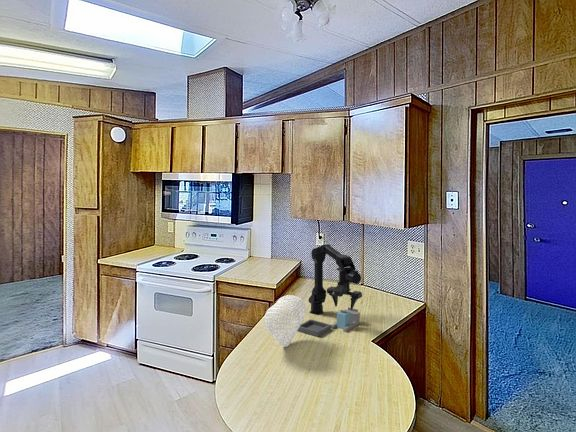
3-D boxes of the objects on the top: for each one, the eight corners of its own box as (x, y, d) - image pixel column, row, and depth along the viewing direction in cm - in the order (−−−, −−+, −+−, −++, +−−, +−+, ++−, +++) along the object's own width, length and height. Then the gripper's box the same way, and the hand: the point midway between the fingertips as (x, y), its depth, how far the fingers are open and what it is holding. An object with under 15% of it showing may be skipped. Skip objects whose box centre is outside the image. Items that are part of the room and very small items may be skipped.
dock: (330, 328, 185) (330, 315, 185) (345, 319, 200) (346, 306, 199) (345, 332, 180) (346, 318, 180) (360, 322, 194) (360, 310, 194)
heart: (278, 333, 178) (279, 290, 177) (308, 336, 173) (308, 293, 172) (259, 357, 151) (260, 307, 150) (293, 362, 147) (294, 310, 145)
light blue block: (336, 327, 187) (336, 311, 186) (341, 324, 191) (342, 308, 191) (344, 329, 184) (345, 313, 183) (349, 326, 188) (350, 310, 188)
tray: (296, 331, 181) (297, 326, 181) (310, 323, 191) (310, 319, 191) (318, 337, 173) (318, 332, 173) (330, 329, 184) (330, 324, 183)
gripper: (321, 279, 185) (321, 308, 186) (353, 285, 174) (352, 315, 175) (332, 276, 194) (331, 303, 195) (362, 281, 183) (362, 310, 184)
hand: (343, 308), depth 187 cm, fingers open, 9 cm apart
